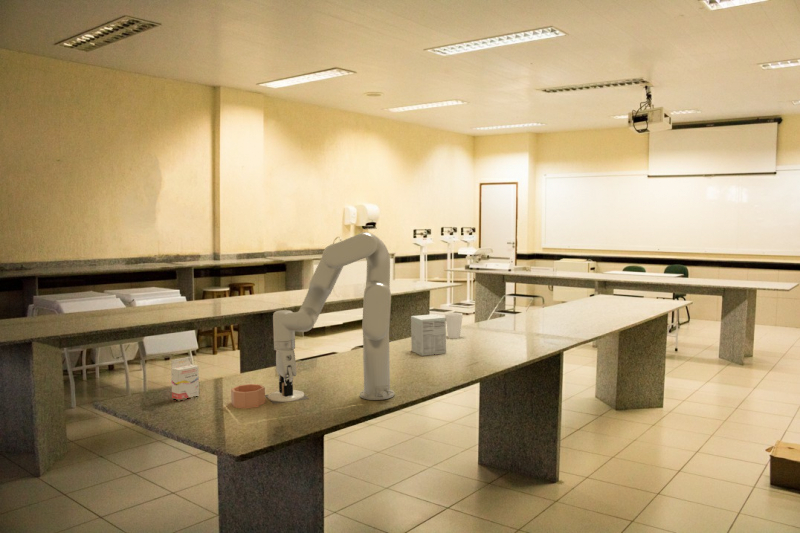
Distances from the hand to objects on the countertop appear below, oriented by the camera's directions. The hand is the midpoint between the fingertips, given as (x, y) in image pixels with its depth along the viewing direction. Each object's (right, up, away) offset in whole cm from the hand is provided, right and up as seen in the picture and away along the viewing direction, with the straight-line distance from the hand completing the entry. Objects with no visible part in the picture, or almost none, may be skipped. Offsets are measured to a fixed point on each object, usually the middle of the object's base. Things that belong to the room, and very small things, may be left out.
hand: (286, 393), depth 226 cm
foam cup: (+71, +7, +113) cm, 134 cm away
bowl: (-12, -3, -7) cm, 14 cm away
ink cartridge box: (-38, -3, +3) cm, 38 cm away
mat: (0, -2, 0) cm, 2 cm away
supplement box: (+55, +4, +76) cm, 94 cm away
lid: (0, -1, 0) cm, 1 cm away
